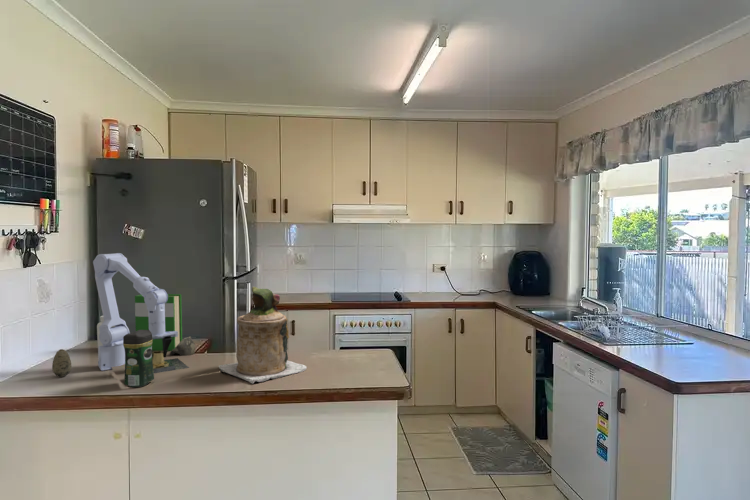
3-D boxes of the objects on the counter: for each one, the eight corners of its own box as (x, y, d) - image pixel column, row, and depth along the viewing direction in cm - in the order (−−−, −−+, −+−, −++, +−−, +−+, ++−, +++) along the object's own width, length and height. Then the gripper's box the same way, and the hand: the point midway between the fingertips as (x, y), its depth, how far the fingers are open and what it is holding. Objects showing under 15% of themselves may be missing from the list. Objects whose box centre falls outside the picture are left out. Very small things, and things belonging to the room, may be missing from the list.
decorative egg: (75, 374, 190) (74, 347, 189) (62, 379, 184) (61, 351, 183) (62, 373, 191) (61, 346, 191) (48, 378, 185) (47, 350, 185)
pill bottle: (102, 347, 232) (101, 314, 231) (120, 346, 233) (119, 314, 232) (94, 351, 224) (93, 317, 223) (113, 351, 225) (112, 317, 224)
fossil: (169, 351, 221) (180, 330, 223) (189, 360, 224) (200, 339, 225) (168, 357, 211) (179, 335, 212) (189, 366, 214) (200, 343, 215)
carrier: (147, 377, 187) (146, 366, 186) (137, 366, 200) (137, 356, 200) (189, 370, 195) (189, 359, 195) (177, 360, 209) (177, 350, 209)
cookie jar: (253, 385, 177) (252, 293, 175) (216, 371, 193) (214, 287, 192) (309, 370, 195) (308, 286, 193) (270, 359, 212) (269, 281, 210)
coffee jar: (137, 379, 184) (136, 327, 183) (157, 380, 183) (156, 328, 182) (119, 387, 174) (118, 333, 173) (141, 388, 173) (139, 334, 172)
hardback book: (182, 347, 232) (181, 294, 231) (174, 351, 225) (173, 296, 224) (145, 346, 234) (144, 293, 233) (136, 350, 227) (134, 296, 226)
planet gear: (150, 371, 189) (149, 355, 189) (145, 366, 195) (145, 351, 195) (170, 368, 193) (169, 352, 193) (165, 363, 199) (165, 349, 199)
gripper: (138, 325, 186) (139, 363, 186) (179, 321, 194) (180, 357, 195) (134, 322, 191) (135, 359, 192) (174, 318, 200) (175, 353, 201)
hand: (157, 357), depth 194 cm, fingers closed on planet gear, 4 cm apart
